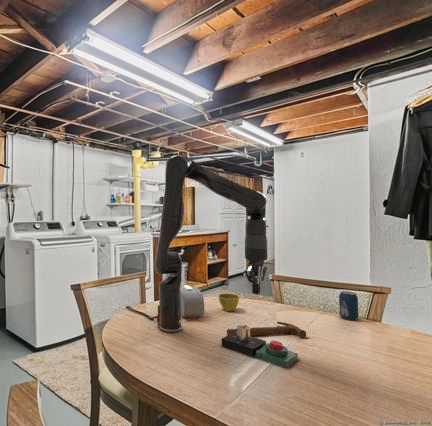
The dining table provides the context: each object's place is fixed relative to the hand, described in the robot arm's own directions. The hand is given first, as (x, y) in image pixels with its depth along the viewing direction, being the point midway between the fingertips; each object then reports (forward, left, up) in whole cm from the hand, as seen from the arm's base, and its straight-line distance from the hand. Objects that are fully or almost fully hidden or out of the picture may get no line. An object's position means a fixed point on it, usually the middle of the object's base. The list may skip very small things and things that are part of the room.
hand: (256, 293), depth 111 cm
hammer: (-5, +15, -20) cm, 26 cm away
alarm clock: (-41, +15, -20) cm, 48 cm away
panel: (-4, -3, -20) cm, 21 cm away
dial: (-4, -3, -17) cm, 18 cm away
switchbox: (+8, -3, -20) cm, 22 cm away
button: (+8, -3, -16) cm, 18 cm away
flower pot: (-31, +35, -20) cm, 51 cm away
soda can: (+13, +63, -20) cm, 67 cm away
